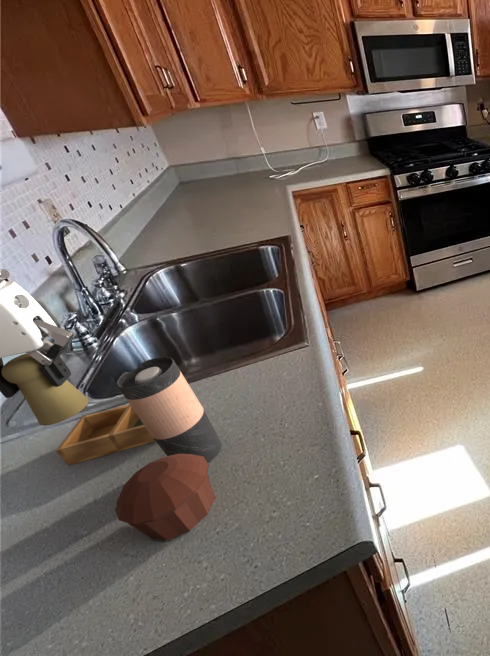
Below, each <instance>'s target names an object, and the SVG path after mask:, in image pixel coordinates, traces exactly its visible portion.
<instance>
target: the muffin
mask: <svg viewBox="0 0 490 656" xmlns="http://www.w3.org/2000/svg"><path fill="white" fill-rule="evenodd" d="M209 467H210V464H209V463H208V462H207V461H206V459H205V458H204V456H198V455H193V454H175V455H170V456H167V455H166V456H165V455H164V456H162V457H160V458H157V459H156V460H152V461H151V462H149V463H147V464H145V465H144V466H143V467H141V468H140V469H138V470H136V471H135V473H134V474H132V476H131V477H130V478H128V479H127V481H126V482H125V483H124V484H123V486H122V488H121V490H120V492H119V495H118V497H117V500H116V503H115V504H116V505H115V508H114V512H115V514H116V517H117V520H118V521H120V522H123V523H127V524H128V525H130V526H131V527H133V528H134V529H136V530H137V531H139V532H140V533H142V534H144V535H145V537H148V538H149V539H151V540H163V541H168V542H169V541H171V540H172V539H174V538H177V537H179V536H180V535H183V534H186V533H189V532H190V531H192V530H193V529H194V528H195V527H196V526H197V524H199V523H200V521H202V520H203V519H205V518H206V517H207V516H208V515H209V512H210V510H211V508H212V505H213V503H214V502H215V501H216V496H215V493H214V490H213V487H212V484H211V481H210V478H209V476H208V472H209Z"/></svg>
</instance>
